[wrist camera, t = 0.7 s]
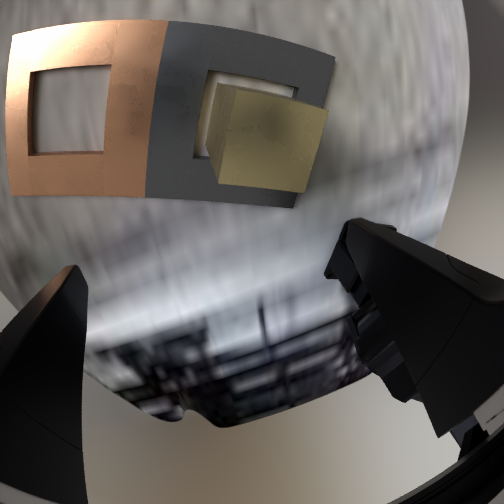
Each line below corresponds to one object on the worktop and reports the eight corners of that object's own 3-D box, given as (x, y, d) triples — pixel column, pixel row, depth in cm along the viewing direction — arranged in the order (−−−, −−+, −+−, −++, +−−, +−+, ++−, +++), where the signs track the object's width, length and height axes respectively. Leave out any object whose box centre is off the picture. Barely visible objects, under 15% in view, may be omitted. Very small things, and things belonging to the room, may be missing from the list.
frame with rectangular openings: (330, 56, 16) (335, 57, 16) (289, 203, 23) (292, 208, 22) (18, 35, 9) (13, 35, 9) (15, 191, 16) (11, 195, 15)
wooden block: (281, 94, 17) (328, 110, 12) (266, 152, 20) (304, 193, 14) (216, 82, 16) (236, 89, 11) (205, 145, 18) (218, 183, 13)
